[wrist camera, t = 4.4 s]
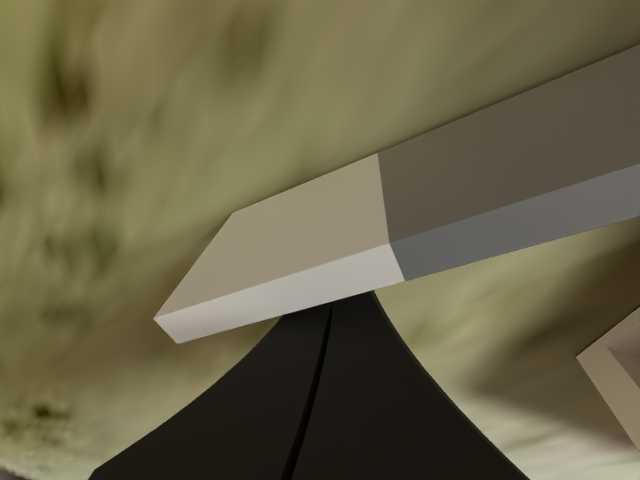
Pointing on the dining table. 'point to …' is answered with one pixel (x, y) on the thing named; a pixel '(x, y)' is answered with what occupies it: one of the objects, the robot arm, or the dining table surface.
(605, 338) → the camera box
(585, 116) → the side door
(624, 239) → the dining table surface
